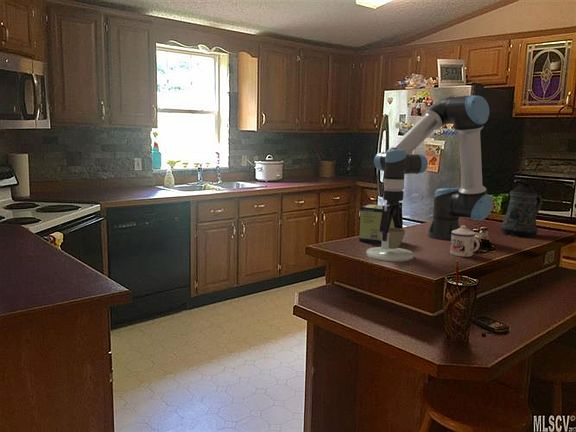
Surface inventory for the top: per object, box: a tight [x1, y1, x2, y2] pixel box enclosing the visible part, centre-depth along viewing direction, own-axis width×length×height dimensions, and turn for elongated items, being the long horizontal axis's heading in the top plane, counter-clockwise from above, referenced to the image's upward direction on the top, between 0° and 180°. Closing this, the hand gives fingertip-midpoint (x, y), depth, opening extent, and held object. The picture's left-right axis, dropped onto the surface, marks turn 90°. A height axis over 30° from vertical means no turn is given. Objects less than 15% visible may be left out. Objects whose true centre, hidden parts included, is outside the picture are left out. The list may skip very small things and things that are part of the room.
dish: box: [366, 246, 415, 263], centre depth 196 cm, size 18×18×2 cm
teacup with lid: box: [449, 225, 480, 258], centre depth 200 cm, size 12×9×12 cm
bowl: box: [379, 227, 406, 249], centre depth 195 cm, size 10×10×7 cm
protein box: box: [358, 203, 394, 245], centre depth 222 cm, size 10×16×16 cm
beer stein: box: [500, 182, 543, 238], centre depth 247 cm, size 16×19×25 cm
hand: (390, 246), depth 196 cm, fingers closed on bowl, 10 cm apart
